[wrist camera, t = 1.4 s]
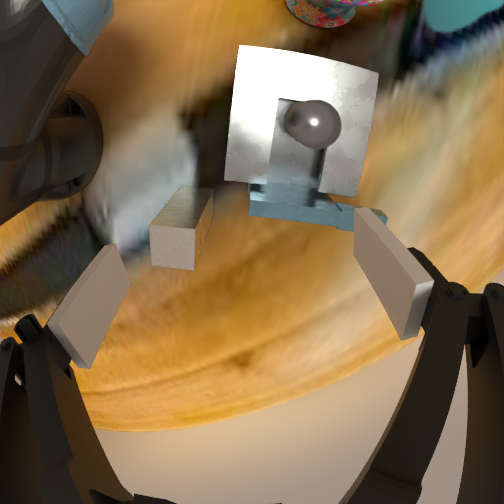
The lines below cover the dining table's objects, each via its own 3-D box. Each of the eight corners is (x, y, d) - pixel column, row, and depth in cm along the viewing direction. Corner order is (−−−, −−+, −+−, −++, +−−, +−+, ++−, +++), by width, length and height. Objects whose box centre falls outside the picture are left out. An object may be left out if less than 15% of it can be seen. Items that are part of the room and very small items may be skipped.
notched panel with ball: (226, 189, 33) (214, 226, 24) (241, 54, 25) (235, 28, 16) (354, 207, 34) (389, 247, 24) (378, 82, 26) (427, 77, 17)
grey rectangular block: (181, 215, 35) (151, 265, 24) (182, 185, 33) (149, 224, 22) (212, 218, 35) (194, 270, 25) (214, 188, 33) (195, 229, 23)
